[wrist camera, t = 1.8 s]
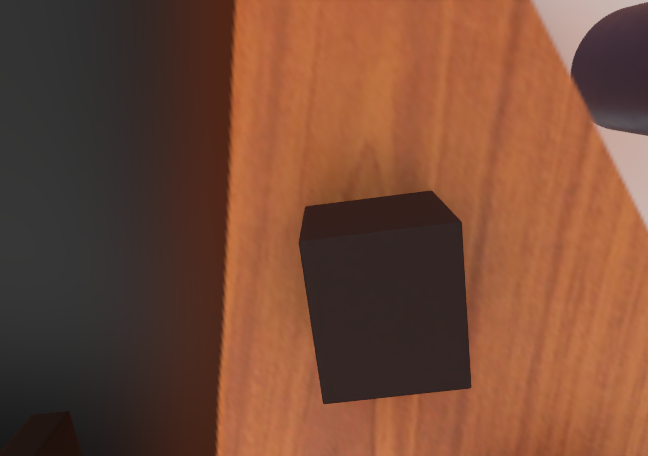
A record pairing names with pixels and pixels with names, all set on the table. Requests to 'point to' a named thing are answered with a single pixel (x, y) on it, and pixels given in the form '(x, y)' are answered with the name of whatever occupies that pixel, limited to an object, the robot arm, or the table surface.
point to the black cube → (386, 297)
